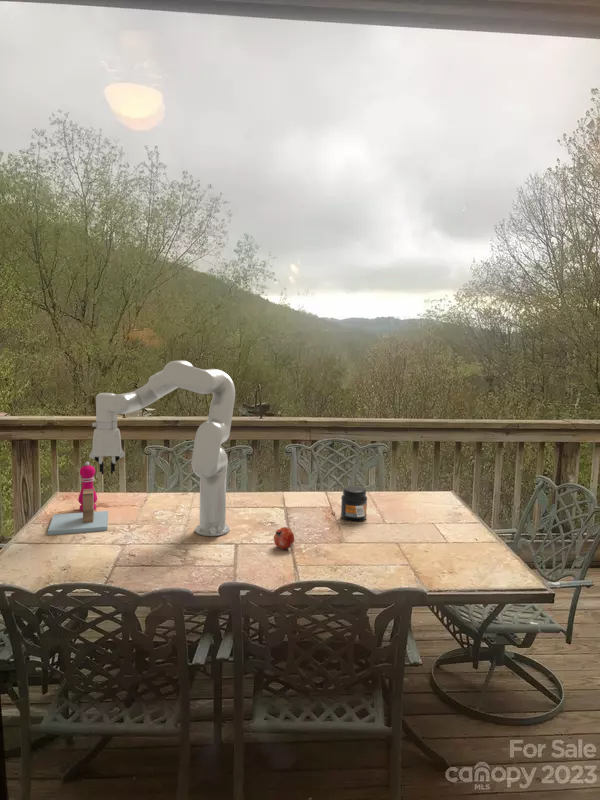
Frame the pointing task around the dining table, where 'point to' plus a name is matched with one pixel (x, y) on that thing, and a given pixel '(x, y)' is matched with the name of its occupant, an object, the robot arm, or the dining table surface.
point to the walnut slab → (88, 505)
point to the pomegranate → (284, 538)
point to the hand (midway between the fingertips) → (107, 473)
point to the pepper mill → (87, 482)
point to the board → (77, 523)
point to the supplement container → (354, 503)
